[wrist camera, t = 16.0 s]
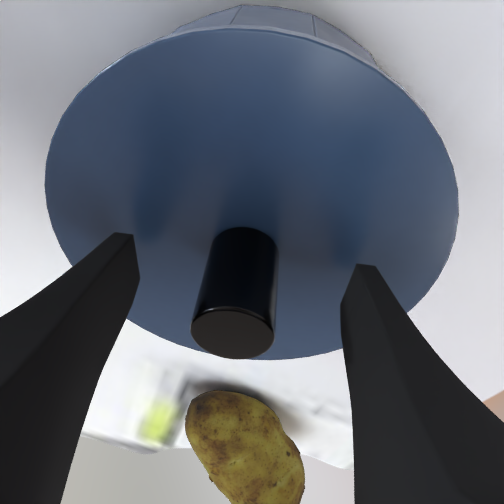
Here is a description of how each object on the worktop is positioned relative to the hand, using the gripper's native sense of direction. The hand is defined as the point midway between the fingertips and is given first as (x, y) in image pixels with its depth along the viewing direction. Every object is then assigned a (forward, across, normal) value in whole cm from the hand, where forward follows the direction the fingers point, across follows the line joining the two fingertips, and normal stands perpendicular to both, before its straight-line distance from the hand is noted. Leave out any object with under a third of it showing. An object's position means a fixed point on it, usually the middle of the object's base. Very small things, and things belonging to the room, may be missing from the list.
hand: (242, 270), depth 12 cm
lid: (+1, 0, 0) cm, 1 cm away
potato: (+8, -2, +26) cm, 27 cm away
